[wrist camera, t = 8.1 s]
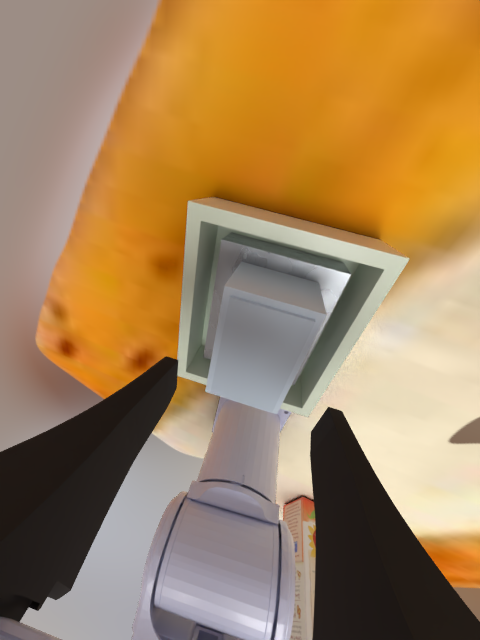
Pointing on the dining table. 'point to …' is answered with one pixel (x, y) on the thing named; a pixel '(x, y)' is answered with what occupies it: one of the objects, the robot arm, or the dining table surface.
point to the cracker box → (303, 564)
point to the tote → (353, 249)
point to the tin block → (282, 260)
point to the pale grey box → (263, 335)
